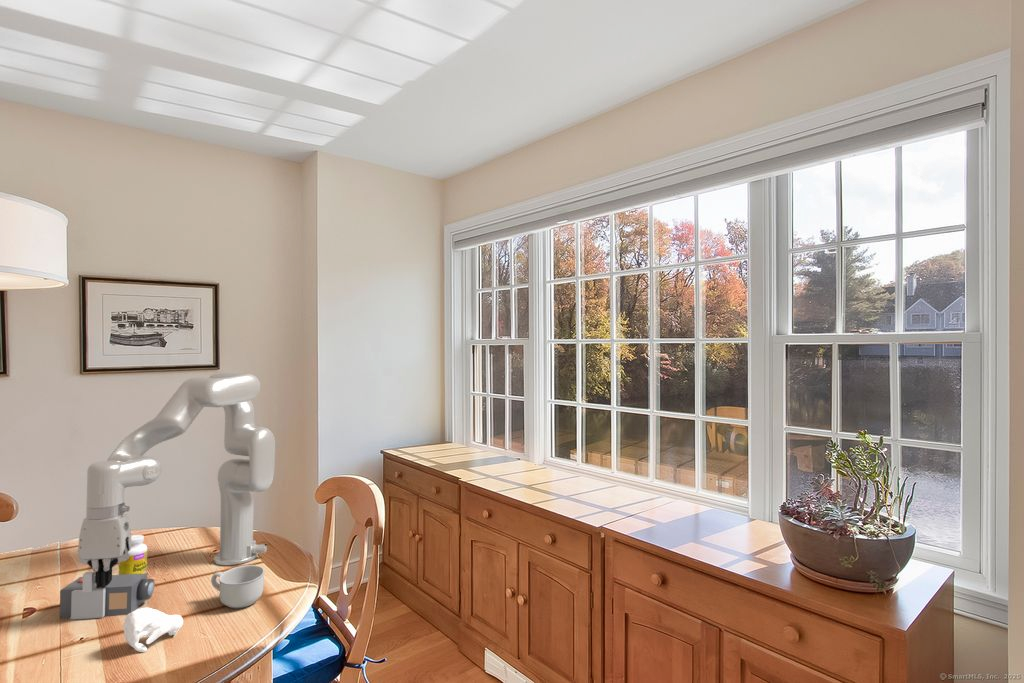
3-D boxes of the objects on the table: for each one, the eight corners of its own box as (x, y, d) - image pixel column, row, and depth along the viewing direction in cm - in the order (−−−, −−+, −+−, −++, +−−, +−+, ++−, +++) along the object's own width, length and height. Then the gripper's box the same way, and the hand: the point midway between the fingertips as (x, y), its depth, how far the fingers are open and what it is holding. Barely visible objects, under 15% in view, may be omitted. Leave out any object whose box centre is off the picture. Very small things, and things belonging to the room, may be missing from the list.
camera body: (156, 599, 145) (157, 570, 145) (141, 613, 137) (142, 583, 137) (79, 603, 142) (80, 574, 142) (59, 618, 134) (60, 587, 134)
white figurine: (121, 608, 121) (179, 594, 131) (116, 648, 121) (174, 631, 130) (132, 617, 118) (191, 602, 127) (127, 658, 117) (186, 640, 127)
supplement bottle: (132, 588, 151) (133, 542, 151) (112, 586, 152) (113, 540, 152) (152, 578, 157) (153, 534, 158) (133, 576, 159) (134, 532, 159)
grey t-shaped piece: (105, 615, 136) (106, 571, 136) (102, 617, 134) (103, 573, 134) (74, 617, 134) (75, 572, 134) (70, 620, 133) (71, 574, 133)
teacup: (272, 597, 147) (273, 568, 147) (240, 616, 136) (241, 584, 136) (233, 589, 151) (233, 561, 151) (199, 607, 141) (199, 576, 141)
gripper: (145, 506, 140) (144, 577, 140) (80, 508, 137) (78, 581, 137) (130, 514, 133) (129, 590, 132) (61, 517, 130) (59, 594, 130)
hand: (103, 585), depth 135 cm, fingers closed
